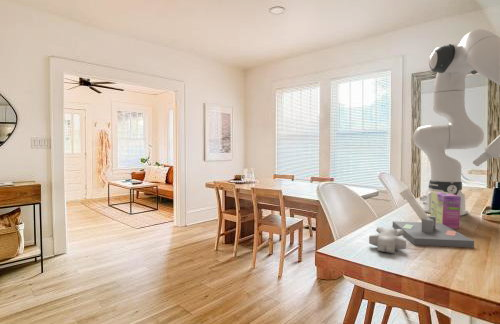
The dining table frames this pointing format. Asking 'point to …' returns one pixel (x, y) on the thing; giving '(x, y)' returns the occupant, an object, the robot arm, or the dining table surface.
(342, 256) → the dining table surface
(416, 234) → the breaker panel
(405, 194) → the breaker lever
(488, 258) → the dining table surface
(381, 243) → the bunny figurine
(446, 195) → the box
